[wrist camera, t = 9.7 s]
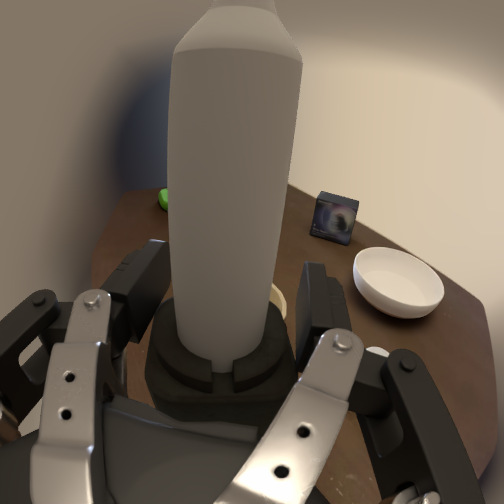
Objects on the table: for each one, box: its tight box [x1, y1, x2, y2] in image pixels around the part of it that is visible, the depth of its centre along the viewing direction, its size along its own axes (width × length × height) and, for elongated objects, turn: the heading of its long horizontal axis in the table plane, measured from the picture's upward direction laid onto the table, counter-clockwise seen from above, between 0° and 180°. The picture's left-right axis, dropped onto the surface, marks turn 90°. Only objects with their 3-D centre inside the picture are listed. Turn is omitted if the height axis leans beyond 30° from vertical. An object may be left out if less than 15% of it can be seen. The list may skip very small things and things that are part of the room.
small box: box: [310, 191, 359, 246], centre depth 70 cm, size 11×6×10 cm, turn 67°
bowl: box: [353, 247, 444, 319], centre depth 50 cm, size 20×20×6 cm
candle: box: [145, 0, 303, 437], centre depth 10 cm, size 5×5×25 cm
